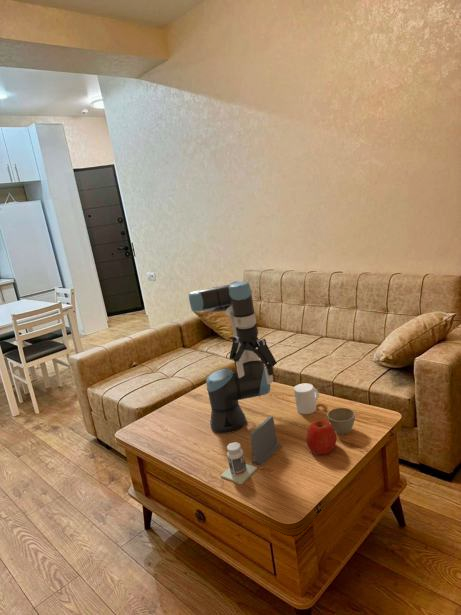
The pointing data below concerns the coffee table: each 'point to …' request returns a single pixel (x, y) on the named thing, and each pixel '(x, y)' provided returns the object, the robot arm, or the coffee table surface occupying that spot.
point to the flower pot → (341, 419)
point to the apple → (321, 437)
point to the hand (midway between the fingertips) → (255, 379)
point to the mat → (241, 478)
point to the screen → (264, 441)
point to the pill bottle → (236, 459)
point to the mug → (305, 398)
